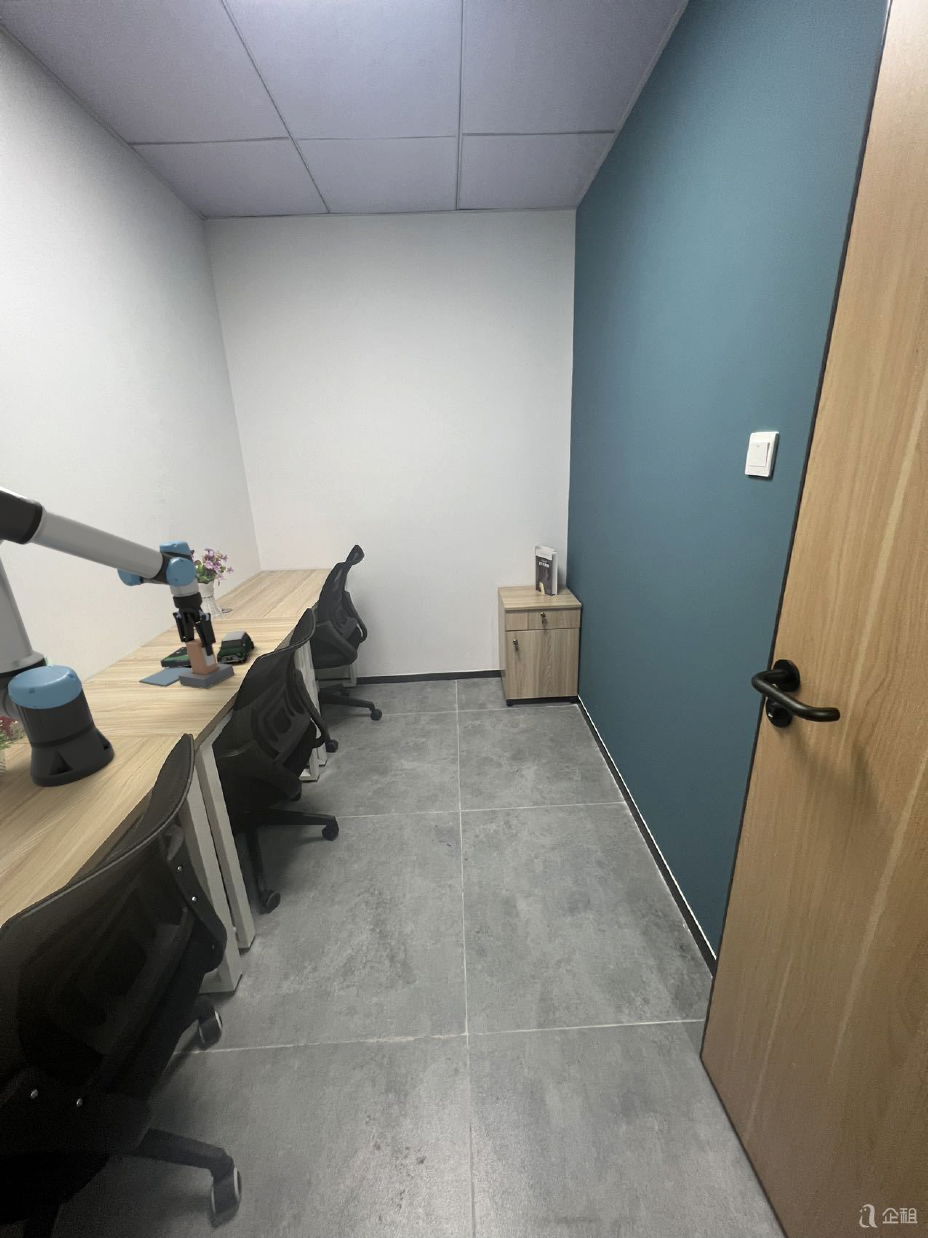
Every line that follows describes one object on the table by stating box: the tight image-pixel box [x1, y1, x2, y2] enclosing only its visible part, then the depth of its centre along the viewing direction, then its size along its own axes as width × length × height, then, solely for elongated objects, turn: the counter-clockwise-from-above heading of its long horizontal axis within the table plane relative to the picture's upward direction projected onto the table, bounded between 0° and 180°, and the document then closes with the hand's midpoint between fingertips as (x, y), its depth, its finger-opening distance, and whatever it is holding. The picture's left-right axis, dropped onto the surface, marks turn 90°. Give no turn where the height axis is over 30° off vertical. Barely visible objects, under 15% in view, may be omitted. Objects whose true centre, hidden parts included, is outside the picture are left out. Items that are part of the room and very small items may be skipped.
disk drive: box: [160, 646, 191, 668], centre depth 171 cm, size 10×3×15 cm
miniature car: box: [216, 630, 255, 664], centre depth 171 cm, size 9×18×8 cm, turn 12°
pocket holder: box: [178, 662, 235, 689], centre depth 155 cm, size 11×11×3 cm
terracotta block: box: [185, 637, 218, 675], centre depth 153 cm, size 5×5×13 cm
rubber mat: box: [138, 666, 192, 688], centre depth 159 cm, size 12×12×1 cm
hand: (203, 663), depth 153 cm, fingers closed on terracotta block, 5 cm apart
